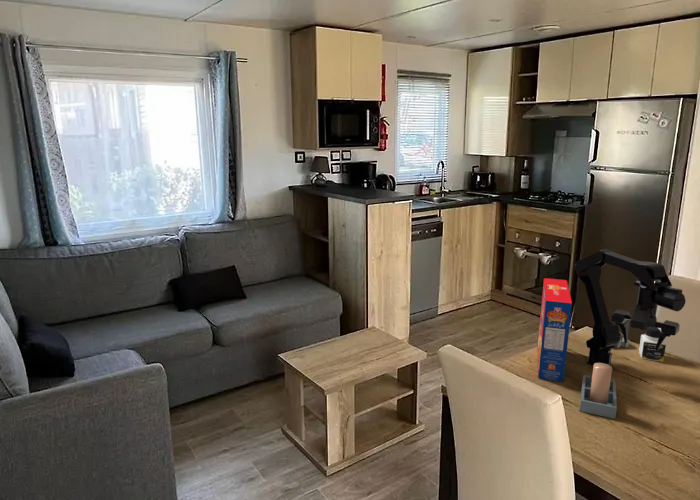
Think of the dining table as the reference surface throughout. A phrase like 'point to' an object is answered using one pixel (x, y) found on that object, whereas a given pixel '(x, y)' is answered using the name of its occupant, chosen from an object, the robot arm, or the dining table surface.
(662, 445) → the dining table surface
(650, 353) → the medicine bottle
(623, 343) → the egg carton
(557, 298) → the cereal box
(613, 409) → the divided tray
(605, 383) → the peach round cylinder
